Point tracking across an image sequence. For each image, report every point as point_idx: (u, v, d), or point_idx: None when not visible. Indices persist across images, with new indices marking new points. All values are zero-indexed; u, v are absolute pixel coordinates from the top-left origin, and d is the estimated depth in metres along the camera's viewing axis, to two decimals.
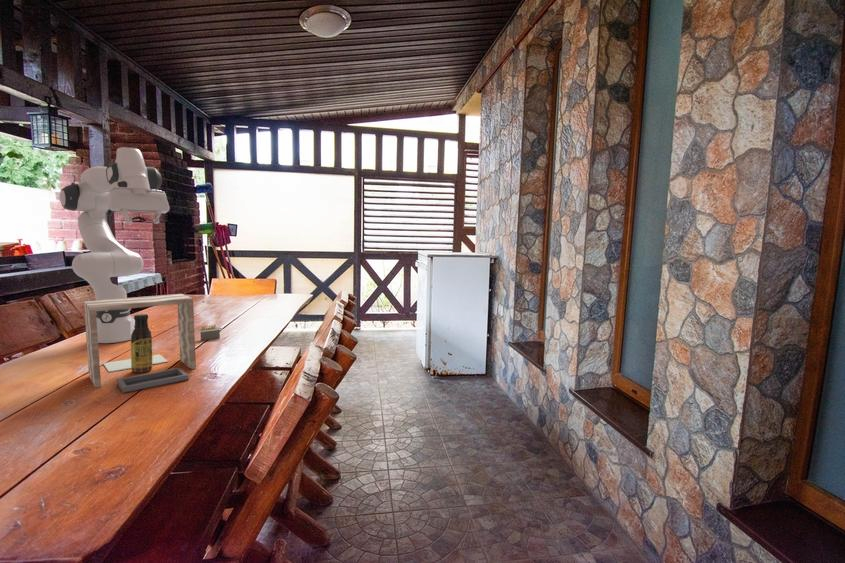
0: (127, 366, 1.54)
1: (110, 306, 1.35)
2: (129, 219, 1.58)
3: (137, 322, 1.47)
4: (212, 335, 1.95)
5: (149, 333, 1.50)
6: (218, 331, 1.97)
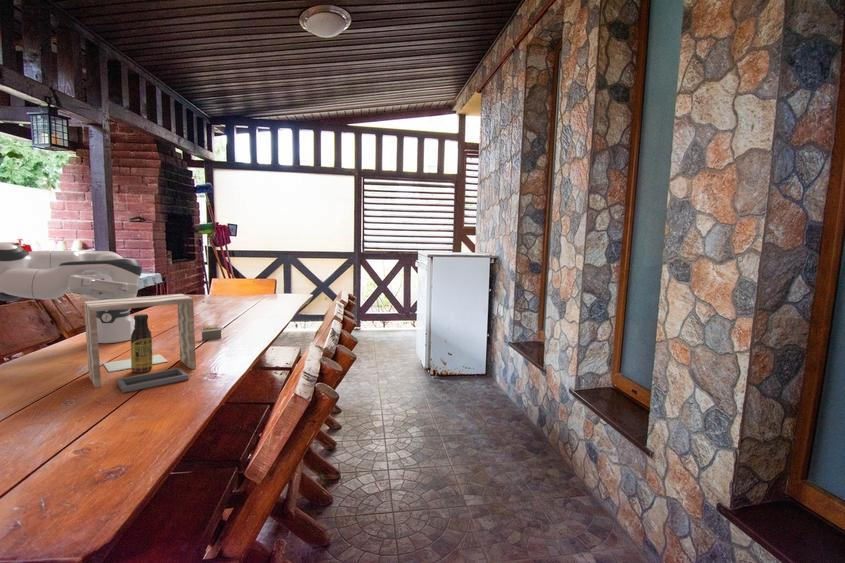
0: (127, 366, 1.54)
1: (110, 306, 1.35)
2: (91, 279, 1.44)
3: (137, 322, 1.47)
4: (213, 334, 1.96)
5: (149, 333, 1.50)
6: (220, 331, 1.97)
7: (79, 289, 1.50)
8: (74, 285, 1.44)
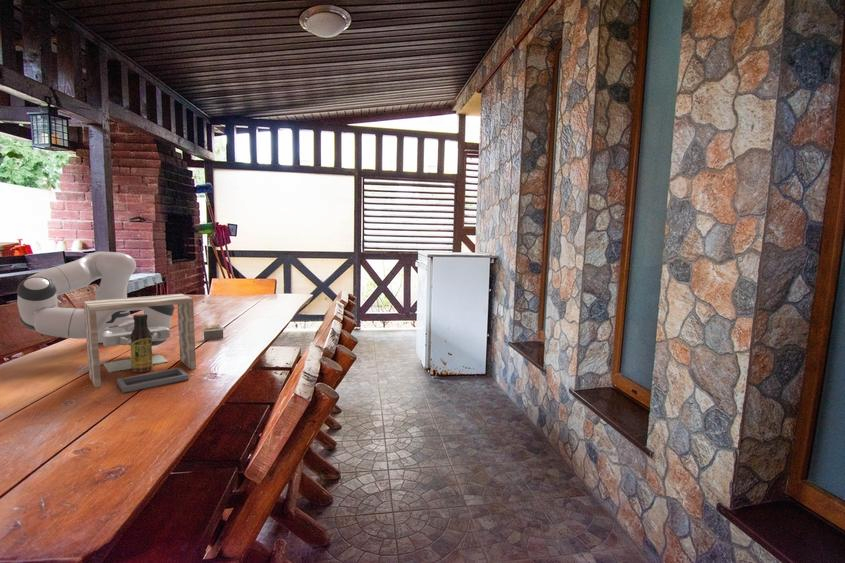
0: (127, 366, 1.54)
1: (110, 306, 1.35)
2: (127, 339, 1.47)
3: (136, 322, 1.47)
4: (215, 334, 1.96)
5: (148, 333, 1.50)
6: (222, 331, 1.97)
7: None
8: (110, 345, 1.47)
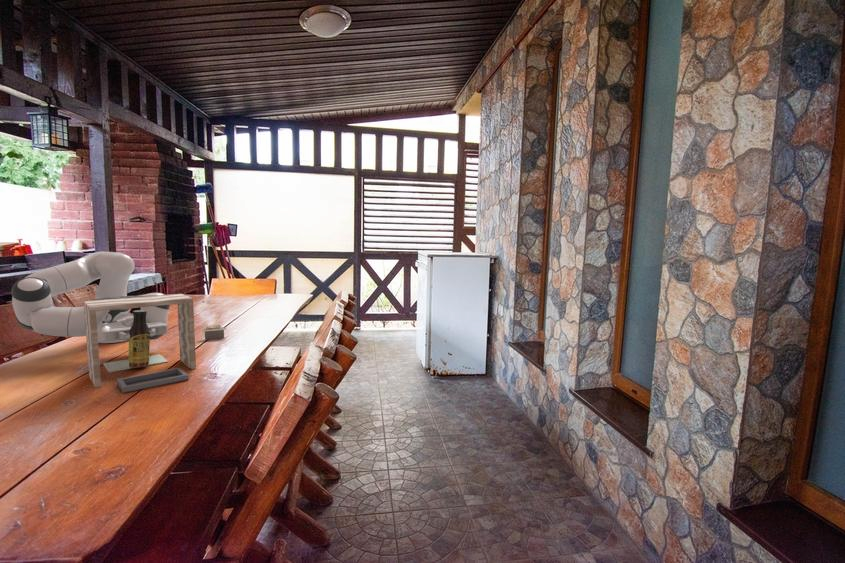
0: (127, 366, 1.54)
1: (110, 306, 1.35)
2: (126, 334, 1.49)
3: (136, 318, 1.50)
4: (216, 334, 1.96)
5: (147, 329, 1.53)
6: (222, 331, 1.97)
7: None
8: (108, 340, 1.49)
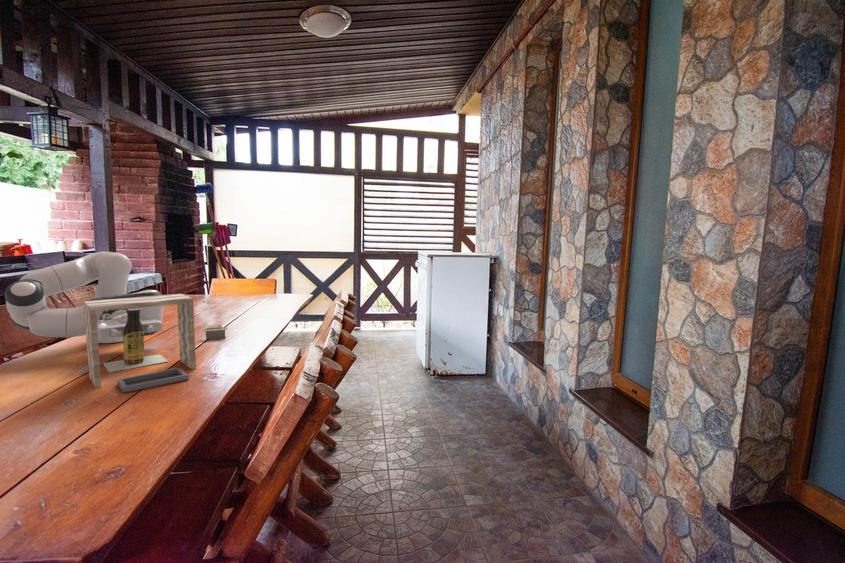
0: (127, 366, 1.54)
1: (110, 306, 1.35)
2: (117, 331, 1.54)
3: (129, 316, 1.55)
4: (217, 334, 1.96)
5: (141, 327, 1.58)
6: (223, 331, 1.97)
7: None
8: (104, 336, 1.54)
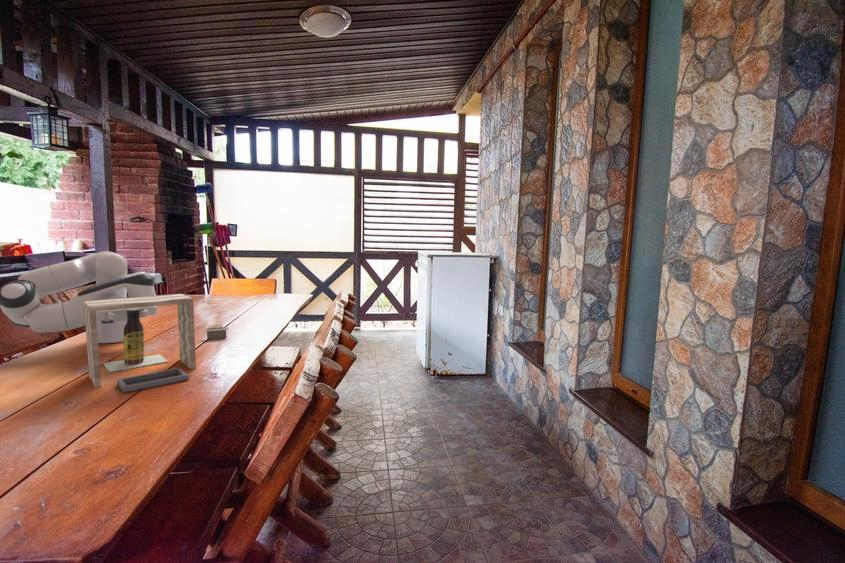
0: (127, 366, 1.54)
1: (110, 306, 1.35)
2: (113, 314, 1.59)
3: (129, 316, 1.55)
4: (219, 334, 1.96)
5: (141, 327, 1.58)
6: (225, 331, 1.97)
7: None
8: (100, 319, 1.60)
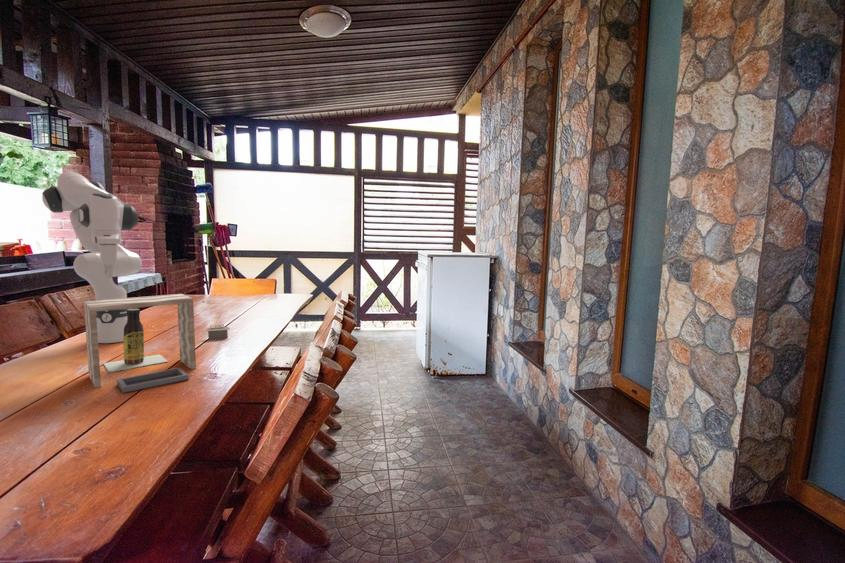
0: (127, 366, 1.54)
1: (110, 306, 1.35)
2: (112, 275, 1.55)
3: (129, 316, 1.55)
4: (220, 334, 1.96)
5: (141, 327, 1.58)
6: (226, 331, 1.97)
7: None
8: (105, 265, 1.51)
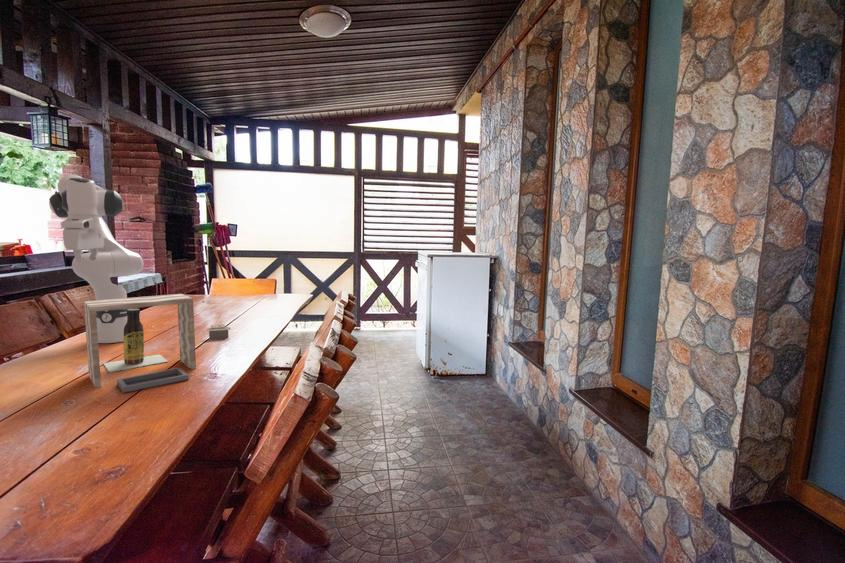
0: (127, 366, 1.54)
1: (110, 306, 1.35)
2: (82, 260, 1.53)
3: (129, 316, 1.55)
4: (221, 334, 1.97)
5: (141, 327, 1.58)
6: (227, 331, 1.97)
7: None
8: None
